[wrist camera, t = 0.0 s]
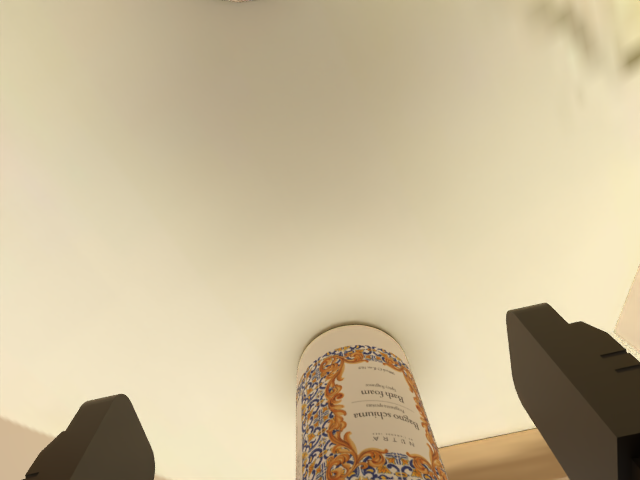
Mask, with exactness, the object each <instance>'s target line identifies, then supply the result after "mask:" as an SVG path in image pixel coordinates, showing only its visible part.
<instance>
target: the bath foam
mask: <svg viewBox="0 0 640 480" xmlns="http://www.w3.org/2000/svg"><path fill="white" fill-rule="evenodd" d="M296 480H448V477H447V474H446V471H445V468H444V465H443V462H442V459H441V456H440V453H439V450H438V448H437V445H436V442H435V439H434V436H433V433H432V430H431V427H430V424H429V421H428V418H427V415H426V412H425V410H424V407H423V404H422V401H421V398H420V395H419V392H418V389H417V386H416V383H415V380H414V377H413V375H412V372H411V370H410V367H409V364H408V361H407V358H406V356H405V354H404V352H403V350H402V348H401V347H400V345H399V344H398V343H397V342H396V341H395V340H394V339H393V338H392V337H391V336H389V335H388V334H386V333H385V332H383V331H381V330H378V329H376V328H373V327H369V326H363V325H347V326H341V327H337V328H334V329H331V330H329V331H327V332H325V333H323V334H321V335H320V336H318V337H317V338H316V339H314V340H313V341H312V342H311V343H310V344H309V345H308V347H307V348H306V349H305V351H304V352H303V354H302V356H301V359H300V362H299V365H298V370H297V393H296Z"/></svg>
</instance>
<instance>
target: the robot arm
mask: <svg viewBox="0 0 640 480" xmlns="http://www.w3.org/2000/svg"><path fill="white" fill-rule="evenodd" d="M224 1H234V2H244V1H252V0H224ZM506 324H507V333H508V342H509V351H510V360H511V370H512V377H513V381H514V385H515V389H516V391H517V394H518V397H519V399H520V401H521V403H522V405H523V407H524V408H525V410H526V411H527V413H528V415H529V416H530V418H531V419H532V421H533V422H534V424H535V426H536V427H537V429H538V430H539V432H540V434H541V435H542V437H543V438H544V440H545V441H546V443H547V445H548V446H549V448H550V449H551V451H552V452H553V454H554V456H555V457H556V459H557V460H558V462H559V463H560V465H561V467H562V468H563V470H564V471H565V473H566V474H567V476H568V478H569V479H570V480H640V362H639V361H638V360H637V359H636V358H635V357H634V356H632V355H631V354H630V353H627V352H626V349H625V348H624V347H622V346H621V345H620V344H619V343H618V342H617V341H616V340H615V339H614V338H612V337H611V336H610V335H609V334H608V333H606V332H604V331H602V330H600V329H597V328H595V327H593V326H591V325H588V324H586V323H584V322H582V321H580V322H575V323H571V324H568V323H567V322H566V321H565V320H564V319H563V318H562V317H561V316H560V315H559V314H558V313H557V312H556V311H555V310H554V309H553V308H552V307H551V306H550V305H549V304H547V303H542V304H537V305H532V306H528V307H523V308H519V309H514V310H509V311H508V312H507V314H506ZM154 474H155V461H154V454H153V451H152V448H151V446H150V444H149V441H148V439H147V437H146V435H145V432H144V430H143V428H142V426H141V423H140V421H139V419H138V417H137V414H136V412H135V410H134V408H133V406H132V403H131V401H130V400H129V398H128V397H127V396H126V395H124V394H118V395H113V396H109V397H104V398H99V399H95V400H90V401H87V402H85V403H84V404H83V405H82V406H81V407H80V409H79V410H78V412H77V414H76V415H75V417H74V418H73V420H72V421H71V423H70V425H69V426H68V428H67V429H66V431H62V432H61V433H60V434H59V435H58V436H57V437H56V438H55V439H54V440H53V441H52V442H51V443H50V444H49V445H48V446H47V447H46V448H45V449H44V450H42V451H41V452H40V454H39V455H38V457H37V458H36V460H35V461H34V463H33V464H32V466H31V467H30V469H29V470H28V472H27V473H26V475H25V476H26V479H23V480H154Z"/></svg>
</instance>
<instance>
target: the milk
mask: <svg viewBox="0 0 640 480" xmlns="http://www.w3.org/2000/svg"><path fill="white" fill-rule="evenodd" d="M614 333H615V334H617V335H618V336H619V337H620V338H622V339H623V340H624V341H625V342H627V343H628V344H629V345H630V346H632V347H633V348H634V349H635V350H636V351H638V352H639V353H640V265H639V267H638V270H637V272H636V275H635V277H634V280H633V283H632V285H631V288H630V290H629V293H628V296H627V298H626V301H625V303H624V306H623V309H622V311H621V314H620V316H619V319H618V321H617V324H616V327H615V329H614Z"/></svg>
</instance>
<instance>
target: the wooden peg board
mask: <svg viewBox="0 0 640 480" xmlns="http://www.w3.org/2000/svg"><path fill="white" fill-rule="evenodd" d="M438 450H439V453H440V456H441V459H442V462H443V465H444V468H445V471H446V474H447V477H448V480H570V479H569V478H568V476H567V474H566V473H565V471H564V470H563V468H562V467H561V465H560V463H559V462H558V460H557V459H556V457H555V456H554V454H553V452H552V451H551V449H550V448H549V446H548V445H547V443H546V441H545V440H544V438H543V437H542V435H541V434H540V432H539V430H538V429H537V428H536V429H531V430H526V431H521V432H517V433H512V434H507V435H502V436H497V437H492V438H487V439H482V440H478V441H473V442H468V443H463V444H458V445H453V446H448V447H443V448H438Z"/></svg>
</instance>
